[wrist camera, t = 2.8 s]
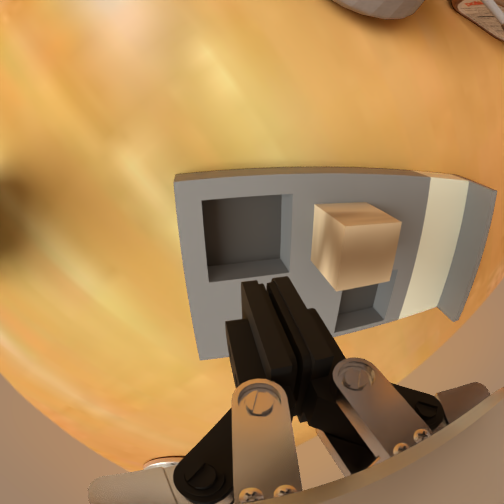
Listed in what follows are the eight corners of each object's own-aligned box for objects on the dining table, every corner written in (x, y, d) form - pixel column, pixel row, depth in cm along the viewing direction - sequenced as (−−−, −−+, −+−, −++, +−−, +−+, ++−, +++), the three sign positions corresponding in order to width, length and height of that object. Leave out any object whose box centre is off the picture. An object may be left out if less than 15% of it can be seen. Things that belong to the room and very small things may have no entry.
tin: (500, 29, 15) (548, 32, 7) (504, 49, 16) (553, 54, 9) (430, -18, 12) (491, -32, 5) (437, 5, 14) (501, -5, 6)
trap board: (429, 293, 28) (458, 319, 23) (197, 339, 24) (203, 389, 19) (456, 174, 22) (497, 191, 17) (175, 174, 17) (170, 194, 13)
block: (359, 254, 20) (389, 281, 17) (310, 260, 19) (336, 291, 16) (366, 201, 18) (401, 222, 15) (314, 204, 18) (345, 226, 14)
